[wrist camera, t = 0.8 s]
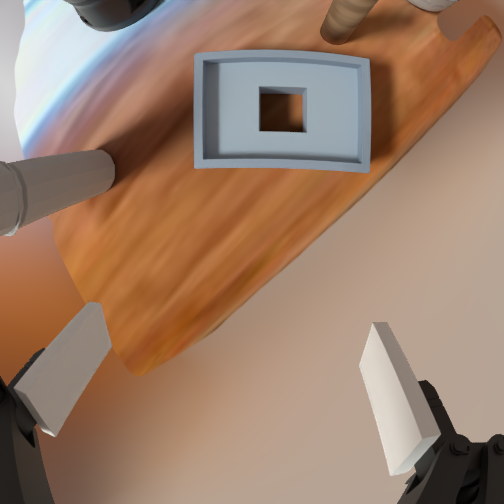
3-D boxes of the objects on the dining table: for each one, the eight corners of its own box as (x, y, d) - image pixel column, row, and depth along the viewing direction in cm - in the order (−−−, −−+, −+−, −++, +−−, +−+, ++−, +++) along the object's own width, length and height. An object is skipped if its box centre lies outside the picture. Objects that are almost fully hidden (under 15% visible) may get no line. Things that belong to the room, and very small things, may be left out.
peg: (319, 20, 30) (339, -28, 17) (347, 23, 30) (377, -21, 17) (320, 43, 31) (343, 0, 18) (348, 46, 31) (382, 7, 18)
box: (207, 67, 34) (194, 53, 27) (353, 71, 32) (369, 58, 26) (207, 164, 38) (194, 168, 32) (353, 168, 37) (369, 173, 31)
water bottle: (113, 140, 38) (-21, 156, 14) (123, 189, 40) (-2, 245, 17) (69, 157, 39) (-56, 187, 15) (79, 203, 41) (-38, 259, 18)
